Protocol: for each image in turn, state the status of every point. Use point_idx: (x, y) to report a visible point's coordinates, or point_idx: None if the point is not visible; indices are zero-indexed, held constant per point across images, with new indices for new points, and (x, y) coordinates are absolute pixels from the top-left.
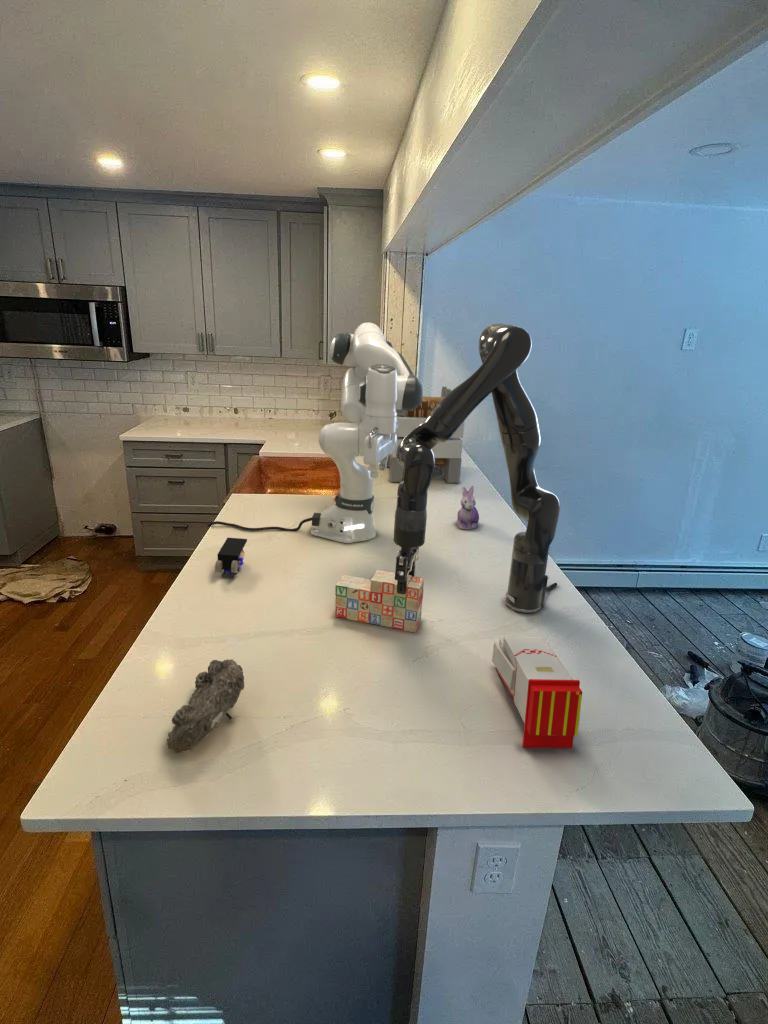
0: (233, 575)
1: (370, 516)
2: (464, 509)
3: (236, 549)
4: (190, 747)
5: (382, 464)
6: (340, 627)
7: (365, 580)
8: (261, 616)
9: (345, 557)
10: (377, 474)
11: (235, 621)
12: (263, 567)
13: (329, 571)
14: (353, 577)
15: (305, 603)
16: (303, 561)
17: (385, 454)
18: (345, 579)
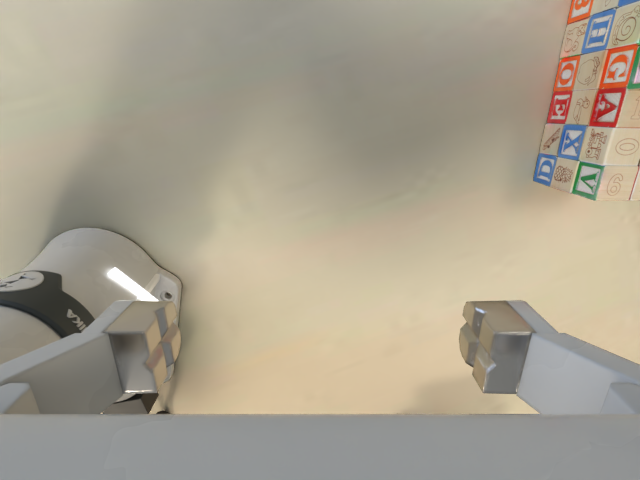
0: None
1: (59, 268)
2: None
3: None
4: None
5: (143, 363)
6: None
7: (626, 125)
8: (592, 317)
9: (267, 259)
10: (494, 312)
11: (613, 349)
12: (385, 395)
13: (361, 268)
14: (609, 167)
15: (529, 262)
16: (328, 338)
17: (316, 471)
18: (626, 185)
